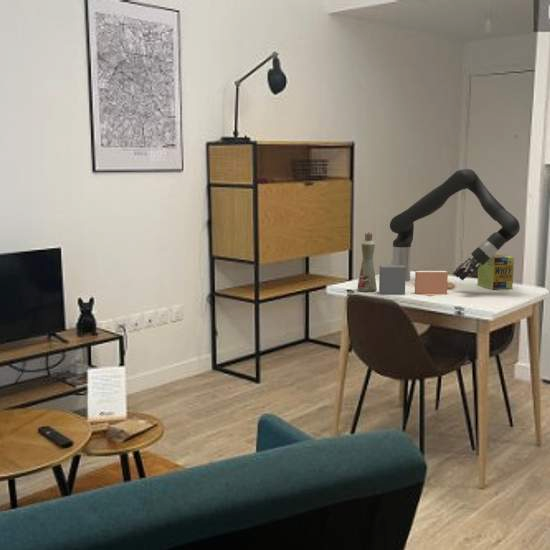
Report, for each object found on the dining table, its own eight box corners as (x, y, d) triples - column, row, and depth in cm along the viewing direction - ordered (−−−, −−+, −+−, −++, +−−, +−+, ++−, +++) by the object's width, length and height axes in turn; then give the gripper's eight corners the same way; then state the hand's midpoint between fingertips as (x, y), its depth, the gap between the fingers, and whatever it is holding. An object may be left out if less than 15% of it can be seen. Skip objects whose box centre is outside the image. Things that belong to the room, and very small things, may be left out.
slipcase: (380, 295, 308) (381, 267, 306) (379, 292, 315) (379, 265, 313) (405, 295, 308) (405, 267, 306) (402, 292, 314) (403, 265, 312)
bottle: (375, 293, 313) (377, 233, 308) (356, 292, 315) (357, 232, 311) (377, 290, 321) (378, 231, 317) (358, 289, 323) (359, 231, 319)
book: (416, 293, 309) (416, 272, 308) (414, 292, 313) (415, 270, 311) (446, 293, 309) (447, 272, 307) (445, 292, 312) (445, 270, 311)
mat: (414, 293, 313) (414, 292, 313) (431, 291, 317) (431, 290, 317) (429, 296, 304) (429, 295, 304) (445, 294, 309) (446, 293, 309)
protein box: (492, 290, 319) (494, 257, 317) (477, 284, 334) (478, 253, 332) (513, 289, 321) (514, 257, 319) (496, 284, 336) (497, 253, 334)
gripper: (474, 244, 314) (449, 269, 316) (483, 248, 299) (456, 274, 302) (485, 256, 314) (460, 280, 316) (494, 260, 300) (467, 285, 302)
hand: (458, 277), depth 309 cm, fingers open, 8 cm apart
